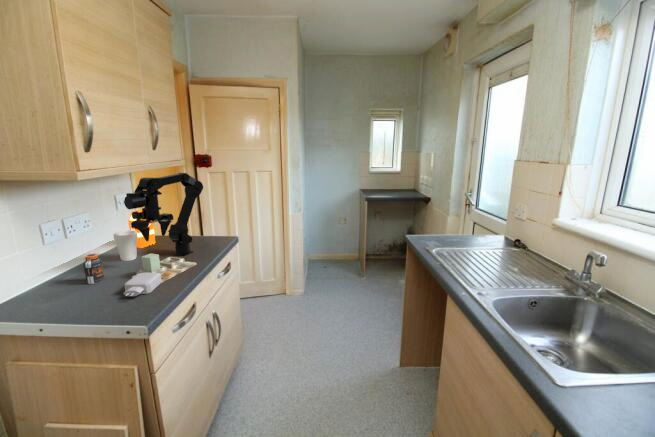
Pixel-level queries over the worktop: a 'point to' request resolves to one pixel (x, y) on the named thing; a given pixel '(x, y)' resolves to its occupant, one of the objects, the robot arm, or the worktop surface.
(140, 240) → the orange juice
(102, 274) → the pill bottle
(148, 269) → the plug
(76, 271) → the worktop surface
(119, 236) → the foam cup
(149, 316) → the worktop surface
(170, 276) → the socket board
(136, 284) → the charger
